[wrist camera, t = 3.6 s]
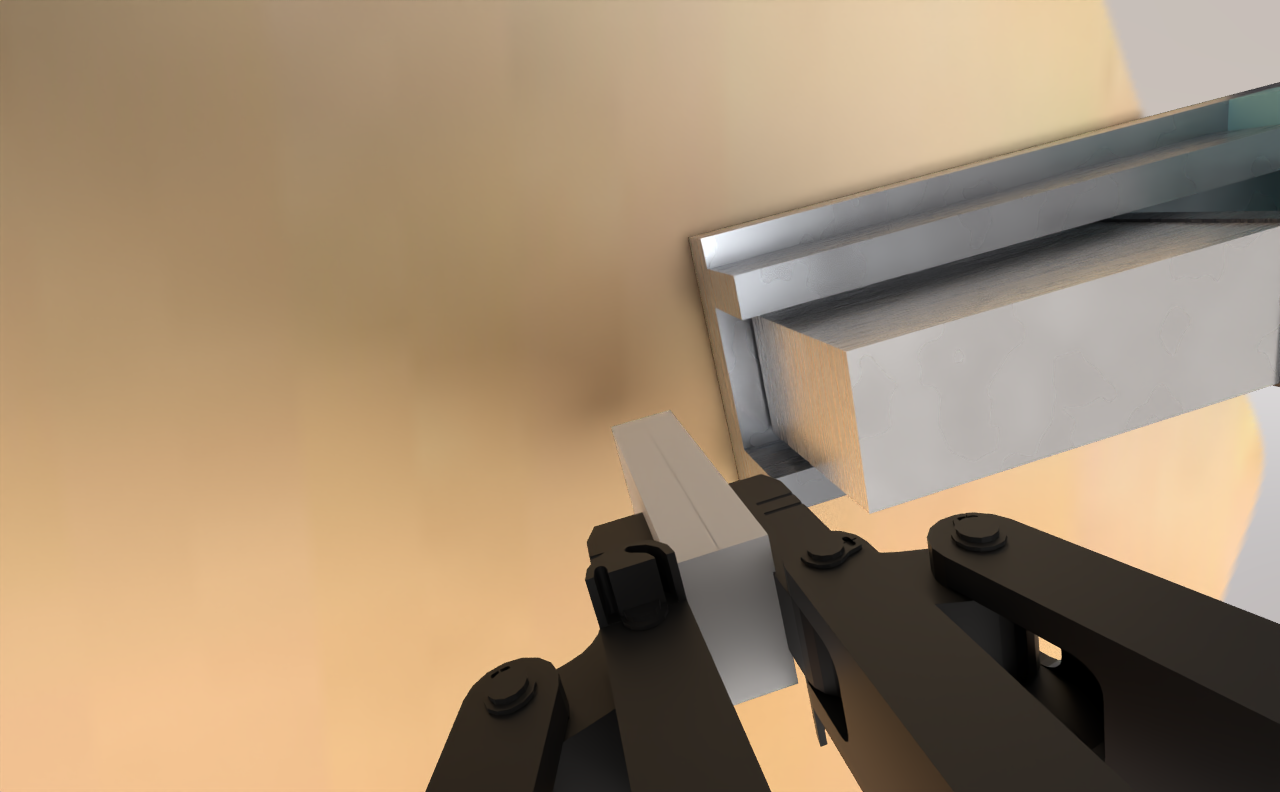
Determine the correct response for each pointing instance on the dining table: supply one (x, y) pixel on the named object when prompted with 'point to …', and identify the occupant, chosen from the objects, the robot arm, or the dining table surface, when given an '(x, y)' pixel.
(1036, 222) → the guide channel
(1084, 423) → the sliding block
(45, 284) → the dining table surface
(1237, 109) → the socket housing
